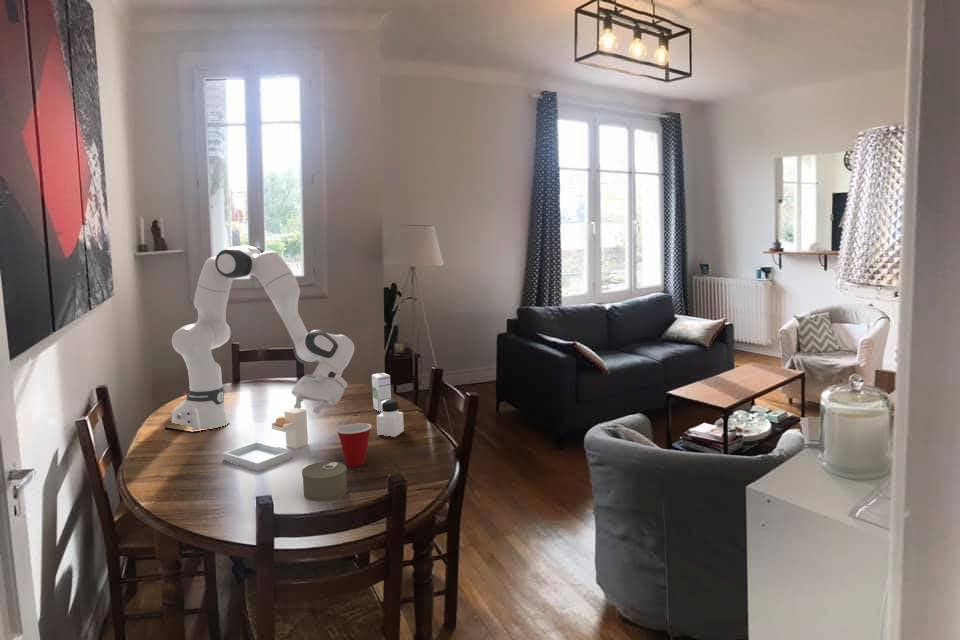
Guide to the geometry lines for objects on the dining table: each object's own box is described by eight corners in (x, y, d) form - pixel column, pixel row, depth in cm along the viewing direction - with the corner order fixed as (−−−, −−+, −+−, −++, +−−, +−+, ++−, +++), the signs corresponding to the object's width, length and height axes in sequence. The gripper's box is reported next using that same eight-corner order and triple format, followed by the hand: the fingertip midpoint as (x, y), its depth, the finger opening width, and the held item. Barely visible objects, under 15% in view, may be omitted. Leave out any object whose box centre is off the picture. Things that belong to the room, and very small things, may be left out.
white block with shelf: (297, 441, 221) (295, 407, 219) (309, 444, 218) (307, 410, 216) (273, 449, 213) (271, 414, 211) (285, 453, 209) (283, 417, 208)
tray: (223, 460, 203) (222, 453, 203) (257, 448, 214) (257, 441, 214) (257, 471, 194) (257, 463, 194) (292, 458, 205) (291, 450, 204)
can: (293, 498, 175) (292, 474, 174) (319, 482, 186) (318, 459, 185) (331, 504, 171) (330, 480, 170) (355, 487, 182) (354, 464, 181)
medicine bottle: (404, 431, 231) (403, 398, 229) (395, 437, 224) (394, 404, 222) (386, 429, 233) (385, 397, 231) (376, 435, 226) (375, 402, 224)
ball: (279, 429, 211) (272, 422, 210) (282, 425, 214) (275, 418, 213) (286, 424, 210) (279, 417, 209) (289, 419, 213) (282, 413, 212)
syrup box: (392, 410, 257) (391, 374, 255) (378, 412, 254) (377, 376, 252) (385, 407, 262) (384, 372, 259) (372, 409, 258) (371, 374, 256)
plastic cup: (360, 454, 207) (358, 418, 205) (379, 463, 200) (378, 426, 198) (330, 463, 200) (328, 426, 198) (350, 473, 192) (348, 434, 190)
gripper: (300, 368, 229) (279, 401, 223) (341, 375, 218) (321, 410, 212) (310, 378, 234) (290, 411, 227) (351, 385, 223) (331, 420, 216)
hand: (305, 410), depth 219 cm, fingers open, 8 cm apart
